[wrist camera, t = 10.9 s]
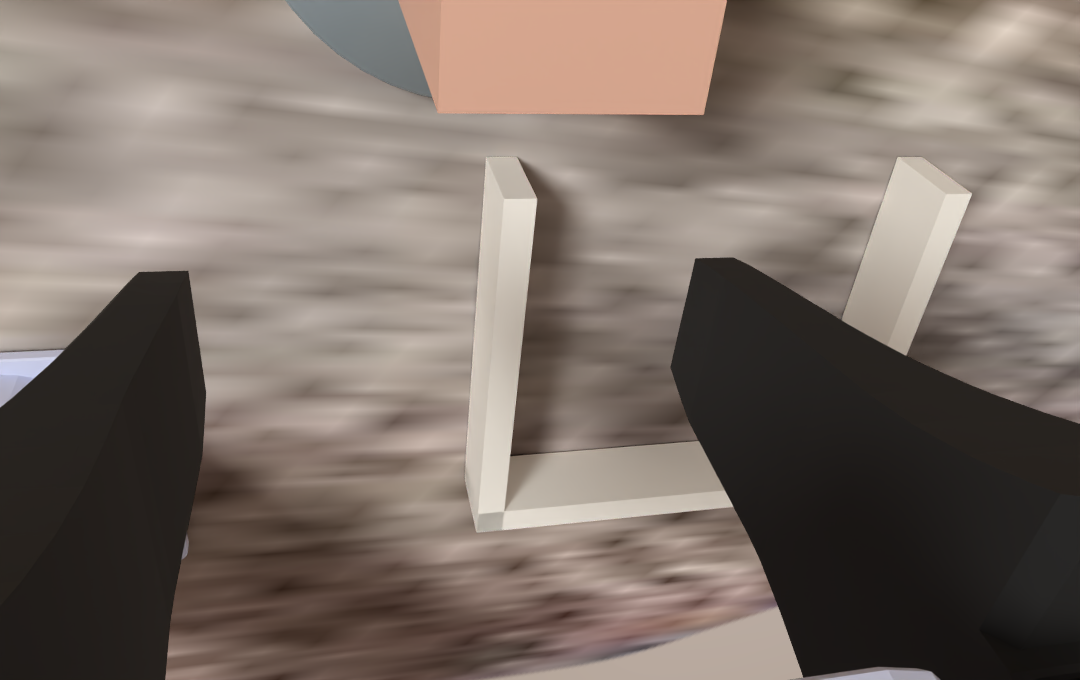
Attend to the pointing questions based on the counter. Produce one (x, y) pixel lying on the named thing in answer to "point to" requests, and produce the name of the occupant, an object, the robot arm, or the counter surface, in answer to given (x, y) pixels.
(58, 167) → the counter surface
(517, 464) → the shelf bay
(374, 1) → the coaster
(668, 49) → the plain salmon-coloured rectangular block
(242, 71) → the counter surface
